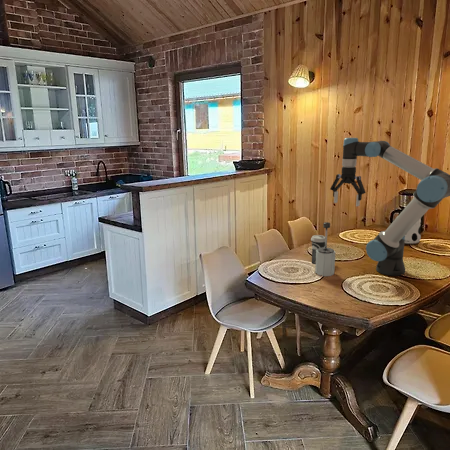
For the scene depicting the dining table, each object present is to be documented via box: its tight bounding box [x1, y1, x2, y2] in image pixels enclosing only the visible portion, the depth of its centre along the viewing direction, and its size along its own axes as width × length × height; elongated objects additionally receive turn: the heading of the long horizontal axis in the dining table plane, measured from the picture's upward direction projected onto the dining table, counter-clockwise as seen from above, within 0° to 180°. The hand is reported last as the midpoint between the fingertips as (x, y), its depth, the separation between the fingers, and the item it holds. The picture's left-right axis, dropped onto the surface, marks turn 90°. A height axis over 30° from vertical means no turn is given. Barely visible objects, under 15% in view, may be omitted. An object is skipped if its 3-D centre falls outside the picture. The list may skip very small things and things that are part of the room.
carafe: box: [311, 247, 336, 277], centre depth 218 cm, size 13×10×14 cm
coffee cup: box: [310, 234, 325, 262], centre depth 238 cm, size 10×10×15 cm
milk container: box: [396, 215, 422, 245], centre depth 268 cm, size 17×17×18 cm
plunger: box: [322, 221, 331, 254], centre depth 213 cm, size 7×7×18 cm
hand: (346, 204), depth 217 cm, fingers open, 13 cm apart
